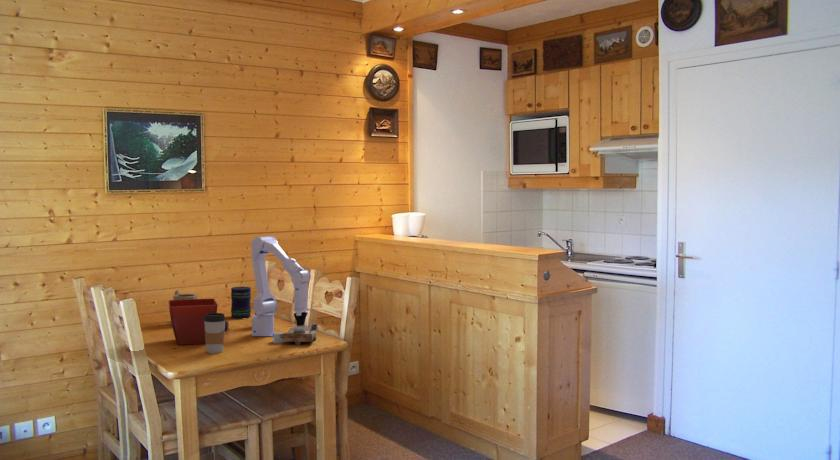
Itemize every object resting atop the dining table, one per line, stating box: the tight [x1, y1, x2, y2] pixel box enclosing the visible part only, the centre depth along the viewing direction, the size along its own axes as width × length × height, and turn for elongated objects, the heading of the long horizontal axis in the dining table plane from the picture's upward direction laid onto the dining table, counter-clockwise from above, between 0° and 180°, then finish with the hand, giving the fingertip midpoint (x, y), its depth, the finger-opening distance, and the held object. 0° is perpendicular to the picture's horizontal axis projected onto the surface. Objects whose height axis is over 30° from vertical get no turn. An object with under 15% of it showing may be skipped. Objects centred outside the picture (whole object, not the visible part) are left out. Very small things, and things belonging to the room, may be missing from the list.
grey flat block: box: [282, 322, 319, 346], centre depth 305 cm, size 13×22×5 cm, turn 2°
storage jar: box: [230, 286, 252, 320], centre depth 356 cm, size 10×10×15 cm
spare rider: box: [272, 331, 285, 344], centre depth 300 cm, size 4×4×4 cm
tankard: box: [169, 289, 198, 326], centre depth 338 cm, size 20×13×15 cm, turn 34°
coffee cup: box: [204, 312, 226, 354], centre depth 280 cm, size 8×8×15 cm
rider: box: [293, 323, 306, 333], centre depth 301 cm, size 4×4×4 cm
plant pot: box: [167, 298, 218, 346], centre depth 298 cm, size 19×19×17 cm
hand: (300, 329), depth 304 cm, fingers closed
